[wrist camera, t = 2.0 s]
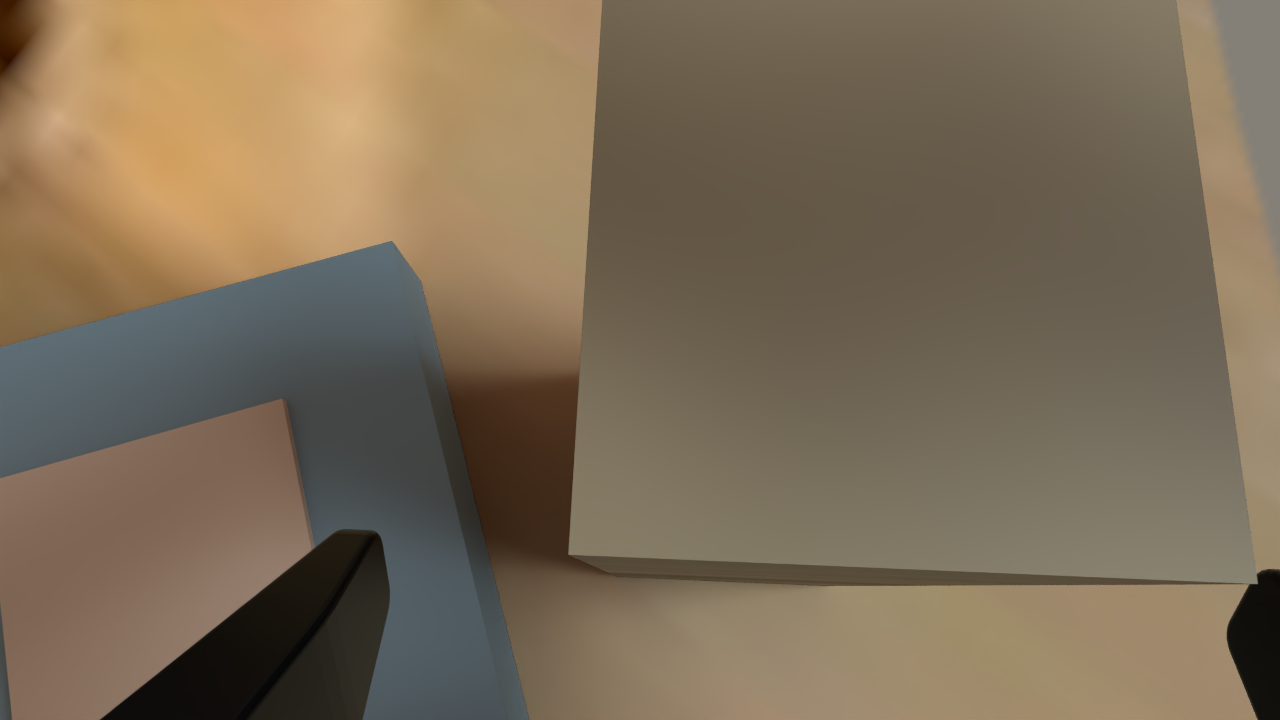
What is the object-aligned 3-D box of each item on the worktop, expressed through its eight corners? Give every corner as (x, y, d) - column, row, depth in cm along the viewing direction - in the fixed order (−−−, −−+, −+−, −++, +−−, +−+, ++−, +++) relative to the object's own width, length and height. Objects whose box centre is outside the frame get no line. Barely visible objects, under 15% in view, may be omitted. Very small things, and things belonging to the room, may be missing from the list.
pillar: (828, 585, 18) (1257, 584, 6) (617, 576, 18) (568, 554, 6) (825, 379, 19) (1174, -8, 7) (627, 371, 19) (603, -28, 7)
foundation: (543, 775, 17) (526, 808, 15) (-13, 955, 16) (-131, 1021, 14) (420, 281, 20) (389, 237, 17) (-61, 414, 19) (-167, 387, 17)
